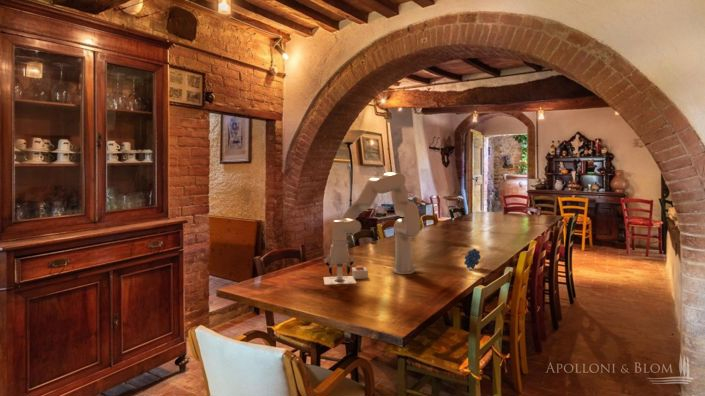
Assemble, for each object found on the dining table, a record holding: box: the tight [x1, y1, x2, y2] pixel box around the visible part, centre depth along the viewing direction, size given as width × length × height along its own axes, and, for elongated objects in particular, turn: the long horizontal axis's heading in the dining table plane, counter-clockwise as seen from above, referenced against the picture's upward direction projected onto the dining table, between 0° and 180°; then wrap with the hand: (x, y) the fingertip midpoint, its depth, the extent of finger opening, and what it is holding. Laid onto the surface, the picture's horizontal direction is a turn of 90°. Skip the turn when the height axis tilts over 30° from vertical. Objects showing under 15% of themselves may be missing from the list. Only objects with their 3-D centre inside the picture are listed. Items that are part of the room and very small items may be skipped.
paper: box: [323, 275, 357, 286], centre depth 227 cm, size 17×14×1 cm
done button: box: [355, 265, 364, 270], centre depth 234 cm, size 4×4×3 cm
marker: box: [336, 264, 344, 281], centre depth 225 cm, size 3×3×10 cm
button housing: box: [351, 266, 369, 280], centre depth 234 cm, size 8×8×4 cm
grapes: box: [464, 248, 482, 269], centre depth 251 cm, size 12×7×12 cm, turn 112°
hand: (339, 273), depth 225 cm, fingers open, 9 cm apart
